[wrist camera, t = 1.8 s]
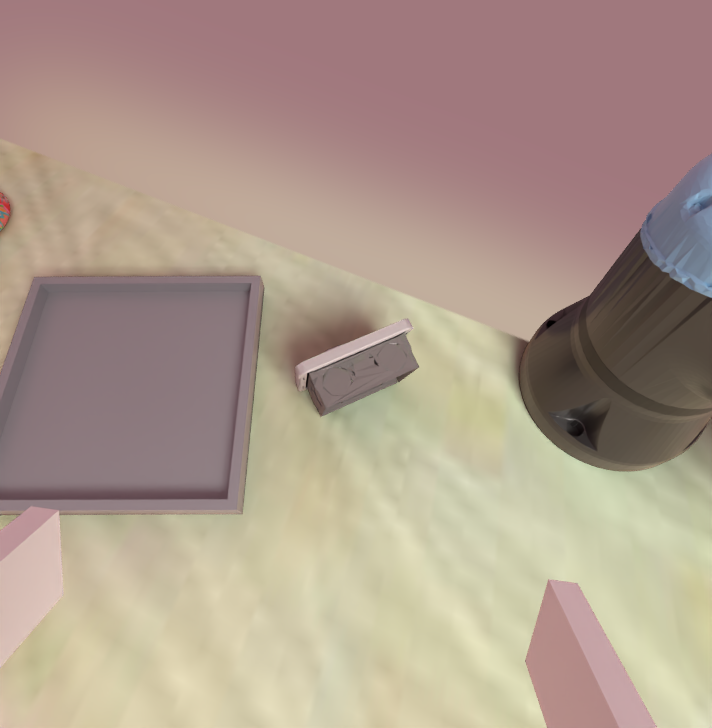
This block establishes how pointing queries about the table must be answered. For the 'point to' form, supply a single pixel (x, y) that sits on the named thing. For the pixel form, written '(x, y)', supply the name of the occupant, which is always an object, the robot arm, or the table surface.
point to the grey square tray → (130, 395)
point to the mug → (4, 211)
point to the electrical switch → (357, 367)
